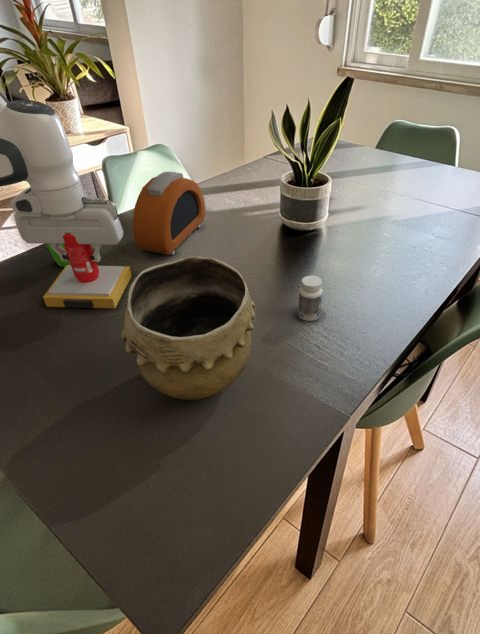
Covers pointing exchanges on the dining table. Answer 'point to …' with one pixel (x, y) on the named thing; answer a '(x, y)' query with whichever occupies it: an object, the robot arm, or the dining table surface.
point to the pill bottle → (310, 298)
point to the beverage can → (80, 259)
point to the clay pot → (189, 326)
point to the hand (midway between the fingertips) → (81, 260)
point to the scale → (89, 289)
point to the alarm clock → (167, 212)
